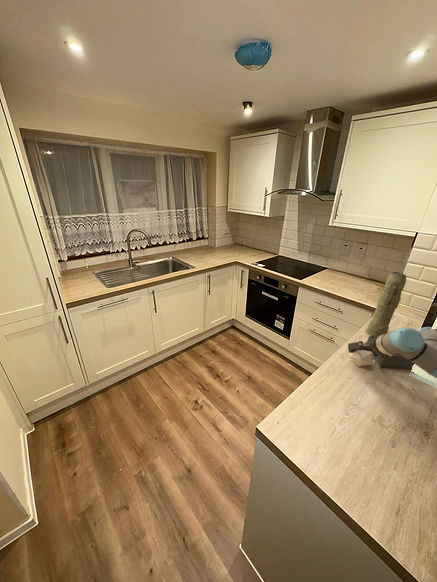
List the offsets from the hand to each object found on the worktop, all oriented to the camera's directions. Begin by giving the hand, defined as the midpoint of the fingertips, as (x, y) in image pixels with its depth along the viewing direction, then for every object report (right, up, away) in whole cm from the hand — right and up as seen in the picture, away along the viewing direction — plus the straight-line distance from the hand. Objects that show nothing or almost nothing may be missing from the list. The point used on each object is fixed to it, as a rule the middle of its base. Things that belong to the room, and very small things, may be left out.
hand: (360, 351), depth 108 cm
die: (-1, -5, -1) cm, 5 cm away
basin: (+14, -4, +3) cm, 15 cm away
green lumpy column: (+21, +5, +21) cm, 30 cm away
